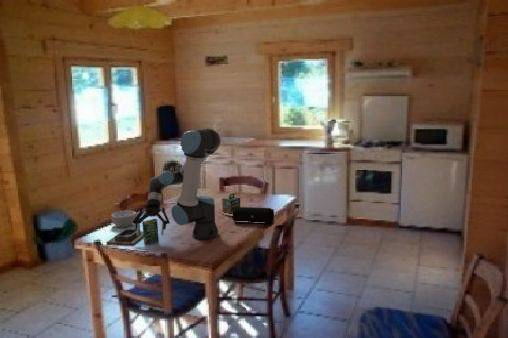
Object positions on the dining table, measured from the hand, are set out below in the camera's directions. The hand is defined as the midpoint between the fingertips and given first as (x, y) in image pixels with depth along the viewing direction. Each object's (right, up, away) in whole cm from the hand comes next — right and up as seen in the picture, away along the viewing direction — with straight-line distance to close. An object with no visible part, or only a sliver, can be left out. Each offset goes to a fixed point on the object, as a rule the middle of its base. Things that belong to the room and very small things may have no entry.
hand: (149, 234), depth 242 cm
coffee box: (0, -5, +3) cm, 6 cm away
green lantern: (+42, +5, +58) cm, 72 cm away
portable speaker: (+58, +2, +38) cm, 69 cm away
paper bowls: (-25, 0, +36) cm, 44 cm away
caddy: (-15, -4, +10) cm, 18 cm away
